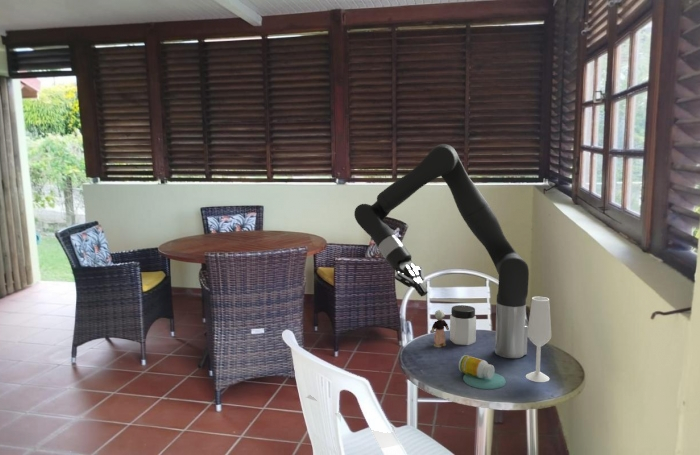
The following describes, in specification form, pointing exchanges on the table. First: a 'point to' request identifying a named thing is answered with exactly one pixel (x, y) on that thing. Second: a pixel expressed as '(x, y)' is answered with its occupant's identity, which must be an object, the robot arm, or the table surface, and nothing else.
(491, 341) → the table surface
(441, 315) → the grandmother figurine
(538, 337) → the champagne flute
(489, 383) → the mat
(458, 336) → the jar
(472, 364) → the supplement bottle
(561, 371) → the table surface
